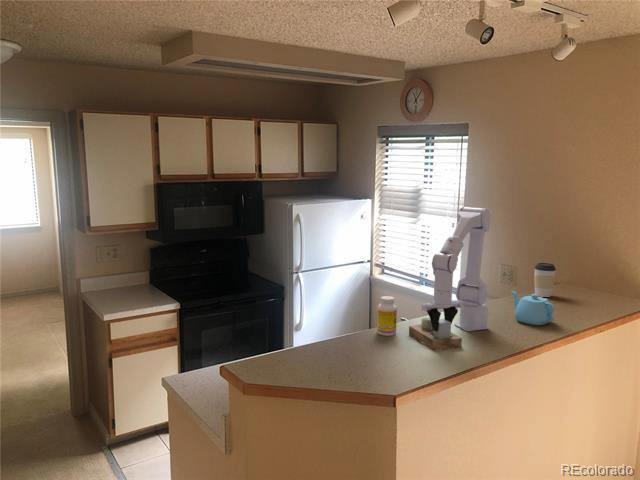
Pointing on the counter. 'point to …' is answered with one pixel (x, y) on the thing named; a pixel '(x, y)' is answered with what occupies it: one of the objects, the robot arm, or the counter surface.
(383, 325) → the supplement bottle
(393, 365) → the counter surface
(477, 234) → the robot arm
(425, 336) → the base
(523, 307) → the teapot
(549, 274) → the coffee cup
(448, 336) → the peg
